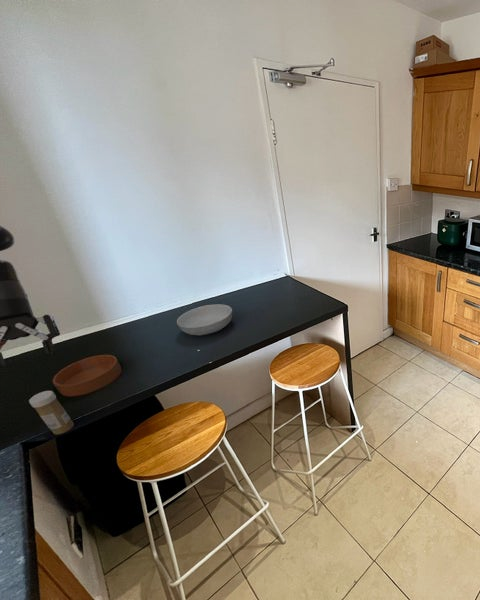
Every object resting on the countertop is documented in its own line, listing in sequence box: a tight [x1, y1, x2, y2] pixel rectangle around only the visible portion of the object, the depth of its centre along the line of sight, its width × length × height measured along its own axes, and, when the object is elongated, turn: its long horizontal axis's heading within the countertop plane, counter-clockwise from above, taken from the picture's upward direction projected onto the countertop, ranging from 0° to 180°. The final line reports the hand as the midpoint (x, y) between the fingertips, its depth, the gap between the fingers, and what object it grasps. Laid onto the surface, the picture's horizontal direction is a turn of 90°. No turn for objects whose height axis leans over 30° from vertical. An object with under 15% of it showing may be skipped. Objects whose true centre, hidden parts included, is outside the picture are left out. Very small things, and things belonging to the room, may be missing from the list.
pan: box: [52, 354, 123, 397], centre depth 107 cm, size 16×16×4 cm
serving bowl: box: [176, 303, 233, 336], centre depth 136 cm, size 21×21×7 cm
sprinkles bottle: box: [28, 390, 75, 435], centre depth 86 cm, size 5×5×13 cm
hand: (26, 360), depth 81 cm, fingers open, 8 cm apart
